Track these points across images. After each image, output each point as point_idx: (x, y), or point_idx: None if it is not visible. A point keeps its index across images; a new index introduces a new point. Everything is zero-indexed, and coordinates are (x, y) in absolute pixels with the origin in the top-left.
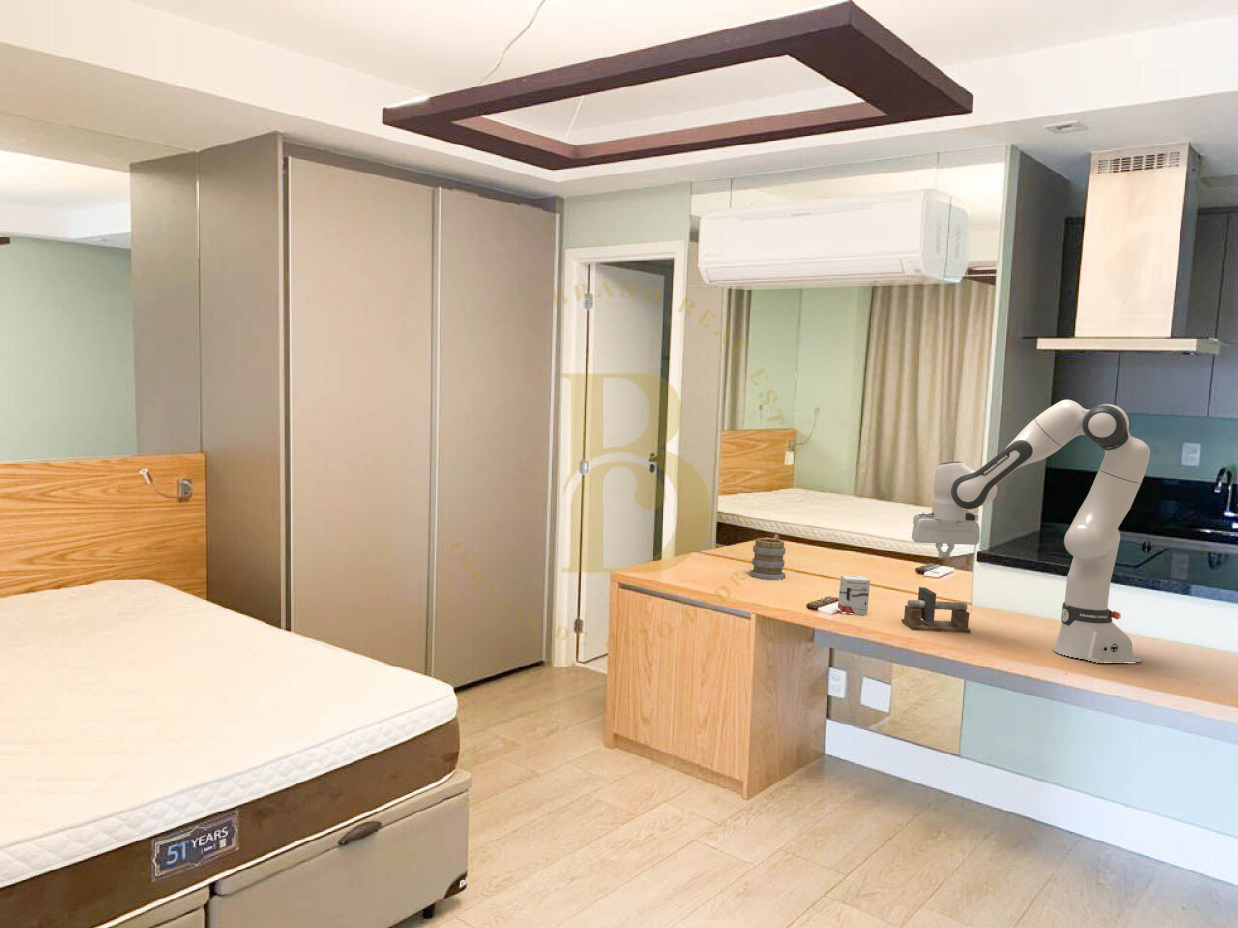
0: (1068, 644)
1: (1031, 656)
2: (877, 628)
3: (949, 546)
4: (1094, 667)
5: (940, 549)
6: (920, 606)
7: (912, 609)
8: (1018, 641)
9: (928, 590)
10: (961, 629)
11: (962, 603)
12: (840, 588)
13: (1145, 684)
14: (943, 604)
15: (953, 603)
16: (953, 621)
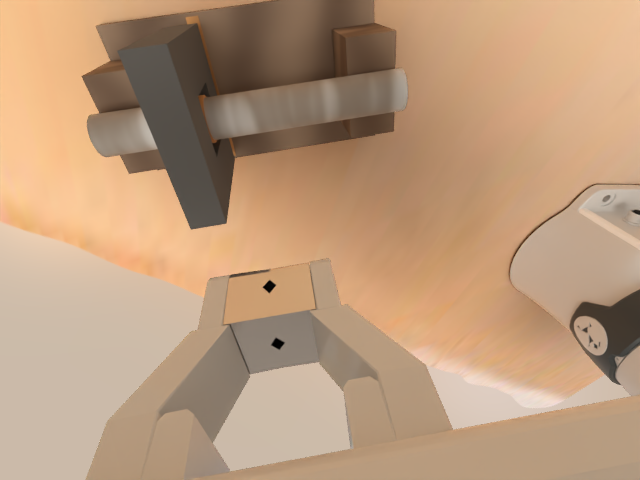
0: (534, 297)
1: (430, 301)
2: (25, 187)
3: (350, 446)
4: (516, 323)
5: (206, 425)
6: None
7: (130, 164)
8: (484, 184)
9: (187, 153)
10: (340, 139)
11: (383, 107)
12: None
13: (529, 368)
14: (281, 129)
15: (335, 117)
16: (336, 62)
